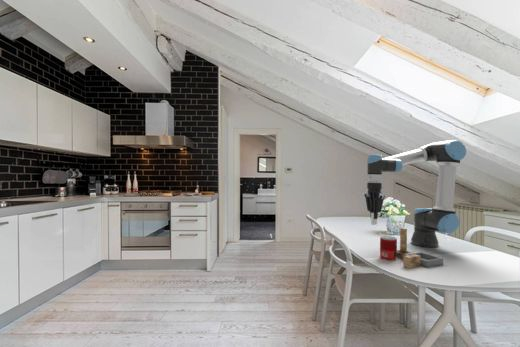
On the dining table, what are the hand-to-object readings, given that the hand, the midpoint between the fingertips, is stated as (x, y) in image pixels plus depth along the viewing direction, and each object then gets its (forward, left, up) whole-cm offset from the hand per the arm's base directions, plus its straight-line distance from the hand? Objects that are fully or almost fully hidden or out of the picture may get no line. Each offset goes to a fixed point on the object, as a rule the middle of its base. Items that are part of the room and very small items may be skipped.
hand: (373, 224), depth 158 cm
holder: (-10, +11, -16) cm, 22 cm away
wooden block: (0, +24, -16) cm, 29 cm away
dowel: (-10, +11, -16) cm, 22 cm away
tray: (-11, +22, -16) cm, 29 cm away
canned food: (0, +10, -16) cm, 19 cm away
